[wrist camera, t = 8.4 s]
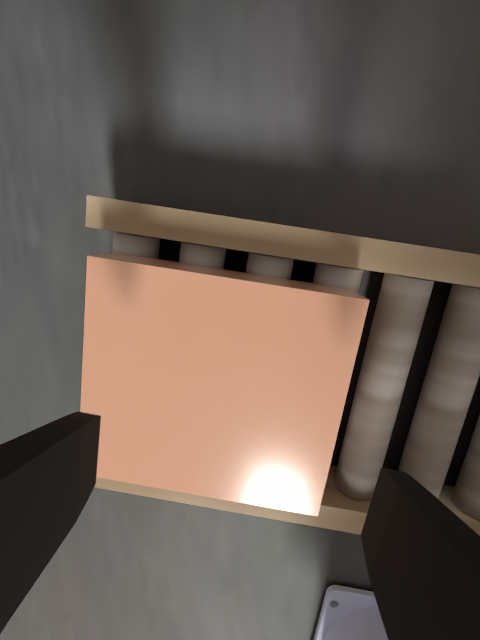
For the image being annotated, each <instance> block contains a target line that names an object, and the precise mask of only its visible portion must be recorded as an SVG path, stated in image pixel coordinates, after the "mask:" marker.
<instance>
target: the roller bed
mask: <svg viewBox="0 0 480 640" xmlns="http://www.w3.org/2000/svg"><path fill="white" fill-rule="evenodd" d="M86 227H91V228H97V229H104V230H110V231H117V232H113V245H112V253H123V254H129V255H135V256H142V257H148V258H155V259H158V258H159V247H160V238H162V239H168V240H175V241H181V247H180V256H179V262H180V263H187V264H193V265H199V266H206V267H212V268H218V269H224V263H225V255H226V248H227V249H233V250H240V251H246V252H249V254H248V261H247V267H246V273H250V274H257V275H263V276H269V277H276V278H282V279H289V280H290V279H291V273H292V268H293V263H294V259H298V260H304V261H311V262H317V263H316V268H315V273H314V278H313V283H314V284H321V285H327V286H334V287H340V288H346V289H353V290H354V291H356V292H357V293H358V292H359V287H360V283H361V279H362V274H363V270H369V271H376V272H382V273H384V277H383V281H382V285H381V289H380V293H379V297H378V302H377V306H376V310H375V314H374V318H373V322H372V326H371V330H370V334H369V338H368V342H367V346H366V350H365V354H364V359H363V363H362V367H361V371H360V375H359V379H358V383H357V387H356V391H355V395H354V399H353V403H352V407H351V411H350V416H349V420H348V424H347V428H346V432H345V436H344V440H343V444H342V448H341V452H340V456H339V460H338V464H337V466H332V465H330V468H329V472H328V476H327V480H326V484H325V489H324V493H323V497H322V501H321V505H320V509H319V514H318V517H317V516H312V515H306V514H300V513H295V512H289V511H284V510H278V509H272V508H267V507H261V506H255V505H250V504H244V503H239V502H233V501H227V500H222V499H216V498H210V497H205V496H199V495H194V494H188V493H182V492H177V491H171V490H165V489H160V488H154V487H148V486H143V485H137V484H132V483H126V482H120V481H115V480H109V479H103V478H98V477H96V484H95V486H94V487H96V488H102V489H107V490H113V491H119V492H124V493H130V494H135V495H141V496H147V497H152V498H158V499H163V500H169V501H175V502H180V503H186V504H191V505H197V506H203V507H208V508H214V509H219V510H225V511H231V512H236V513H242V514H247V515H253V516H259V517H264V518H270V519H275V520H281V521H287V522H292V523H298V524H303V525H309V526H315V527H320V528H326V529H331V530H337V531H343V532H348V533H354V534H359V535H361V532H362V529H363V526H364V522H365V519H366V516H367V513H368V509H369V506H370V503H371V499H372V496H373V493H374V489H375V486H376V483H377V480H378V476H379V473H380V470H381V468H382V466H383V463H384V459H385V456H386V452H387V448H388V445H389V441H390V438H391V434H392V431H393V427H394V424H395V420H396V416H397V413H398V409H399V406H400V402H401V399H402V395H403V391H404V388H405V384H406V381H407V377H408V374H409V370H410V367H411V363H412V359H413V356H414V352H415V349H416V345H417V342H418V338H419V335H420V331H421V327H422V324H423V320H424V317H425V313H426V310H427V306H428V302H429V299H430V295H431V292H432V288H433V285H434V281H440V282H447V283H453V284H452V287H451V290H450V294H449V297H448V301H447V304H446V307H445V311H444V314H443V318H442V321H441V324H440V328H439V331H438V335H437V338H436V342H435V345H434V348H433V352H432V355H431V359H430V362H429V365H428V369H427V372H426V376H425V379H424V382H423V386H422V389H421V393H420V396H419V399H418V403H417V406H416V410H415V413H414V416H413V420H412V423H411V427H410V430H409V433H408V437H407V440H406V444H405V447H404V450H403V454H402V457H401V461H400V464H399V468H398V471H402V472H406V473H407V474H409V475H410V476H411V477H413V478H414V479H415V480H416V481H418V482H419V483H420V484H421V485H422V486H424V487H425V488H426V489H427V490H428V491H429V492H431V493H432V494H433V495H434V496H435V497H436V498H437V499H439V500H440V501H441V502H442V503H443V504H444V505H445V506H446V507H448V508H449V509H450V510H451V511H452V512H453V513H454V514H455V515H457V516H458V517H459V518H460V519H461V520H462V521H463V522H465V523H466V524H467V525H468V526H469V527H470V528H471V529H473V530H474V531H475V532H476V533H477V534H478V535H479V536H480V415H479V418H478V421H477V424H476V427H475V429H474V432H473V435H472V438H471V441H470V444H469V447H468V450H467V453H466V456H465V459H464V462H463V464H462V467H461V470H460V473H459V476H458V479H457V482H456V485H455V487H453V486H447V485H443V484H444V481H445V478H446V475H447V472H448V469H449V466H450V463H451V459H452V456H453V453H454V450H455V447H456V444H457V441H458V438H459V435H460V432H461V429H462V426H463V423H464V420H465V417H466V414H467V411H468V408H469V405H470V402H471V399H472V396H473V393H474V390H475V387H476V384H477V381H478V378H479V375H480V255H479V254H472V253H466V252H459V251H452V250H446V249H439V248H433V247H426V246H419V245H413V244H406V243H399V242H393V241H386V240H380V239H373V238H366V237H360V236H353V235H347V234H340V233H333V232H327V231H320V230H314V229H307V228H300V227H294V226H287V225H281V224H274V223H267V222H261V221H254V220H248V219H241V218H234V217H228V216H221V215H215V214H208V213H201V212H195V211H188V210H182V209H175V208H168V207H162V206H155V205H149V204H142V203H135V202H129V201H122V200H116V199H109V198H102V197H96V196H89V195H87V204H86ZM362 269H363V270H362ZM432 280H434V281H432Z"/></svg>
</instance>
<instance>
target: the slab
mask: <svg viewBox="0 0 480 640" xmlns="http://www.w3.org/2000/svg"><path fill="white" fill-rule="evenodd" d="M369 301H370V300H369V299H367V298H365V297H364V296H362V295H361V294H359V293H357V292H356V291H354V290H353V289H346V288H340V287H334V286H327V285H321V284H314V283H308V282H302V281H295V280H289V279H282V278H276V277H269V276H263V275H257V274H250V273H244V272H238V271H231V270H225V269H218V268H212V267H206V266H199V265H193V264H187V263H180V262H174V261H167V260H161V259H155V258H148V257H142V256H135V255H129V254H123V253H107V254H98V255H89V256H87V273H86V296H85V318H84V341H83V364H82V386H81V409H80V412H83V413H89V414H94V415H100V416H101V422H100V435H99V448H98V462H97V475H96V477H98V478H103V479H109V480H115V481H120V482H126V483H132V484H137V485H143V486H148V487H154V488H160V489H165V490H171V491H177V492H182V493H188V494H194V495H199V496H205V497H210V498H216V499H222V500H227V501H233V502H239V503H244V504H250V505H255V506H261V507H267V508H272V509H278V510H284V511H289V512H295V513H300V514H306V515H312V516H317V517H318V514H319V509H320V505H321V501H322V497H323V493H324V489H325V484H326V480H327V476H328V472H329V468H330V464H331V459H332V455H333V451H334V447H335V443H336V439H337V434H338V430H339V426H340V422H341V418H342V414H343V409H344V405H345V401H346V397H347V393H348V389H349V384H350V380H351V376H352V372H353V368H354V364H355V359H356V355H357V351H358V347H359V343H360V338H361V334H362V330H363V326H364V322H365V318H366V313H367V309H368V305H369Z"/></svg>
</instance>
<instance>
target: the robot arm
mask: <svg viewBox="0 0 480 640" xmlns="http://www.w3.org/2000/svg"><path fill="white" fill-rule="evenodd" d="M100 422H101V416H100V415H94V414H89V413H83V412H75V413H72V414H70V415H67V416H65V417H62V418H60V419H58V420H55V421H53V422H51V423H49V424H46V425H44V426H42V427H40V428H37V429H35V430H33V431H31V432H28V433H26V434H24V435H22V436H19V437H17V438H15V439H13V440H10V441H8V442H6V443H3V444H1V445H0V634H1V632H2V630H3V629H4V627H5V626H6V624H7V623H8V621H9V620H10V618H11V617H12V615H13V614H14V612H15V611H16V609H17V608H18V606H19V605H20V604H21V602H22V601H23V599H24V598H25V596H26V595H27V593H28V592H29V590H30V589H31V587H32V586H33V585H34V583H35V582H36V580H37V579H38V577H39V576H40V574H41V573H42V571H43V570H44V568H45V567H46V566H47V564H48V563H49V561H50V560H51V558H52V557H53V555H54V554H55V552H56V551H57V549H58V548H59V546H60V545H61V543H62V542H63V540H64V539H65V538H66V536H67V535H68V533H69V532H70V530H71V529H72V527H73V525H74V524H75V522H76V521H77V519H78V517H79V515H80V513H81V511H82V510H83V508H84V506H85V504H86V502H87V500H88V498H89V496H90V494H91V492H92V490H93V488H94V486H95V484H96V475H97V462H98V448H99V435H100ZM361 537H362V543H363V548H364V554H365V560H366V564H367V569H368V574H369V579H370V582H371V586H372V589H373V592H372V591H367V590H361V589H356V588H350V587H345V586H339V585H331V586H329V587H328V588H327V590H326V594H325V598H324V601H323V605H322V609H321V613H320V617H319V621H318V624H317V628H316V632H315V636H314V640H480V536H479V535H478V534H477V533H476V532H475V531H474V530H473V529H471V528H470V527H469V526H468V525H467V524H466V523H465V522H463V521H462V520H461V519H460V518H459V517H458V516H457V515H455V514H454V513H453V512H452V511H451V510H450V509H449V508H448V507H446V506H445V505H444V504H443V503H442V502H441V501H440V500H439V499H437V498H436V497H435V496H434V495H433V494H432V493H431V492H429V491H428V490H427V489H426V488H425V487H424V486H422V485H421V484H420V483H419V482H418V481H416V480H415V479H414V478H413V477H411V476H410V475H409V474H407V473H406V472H402V471H397V470H391V469H386V468H381V470H380V473H379V476H378V480H377V483H376V486H375V489H374V493H373V496H372V499H371V503H370V506H369V509H368V513H367V516H366V519H365V522H364V526H363V529H362V532H361Z"/></svg>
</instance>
